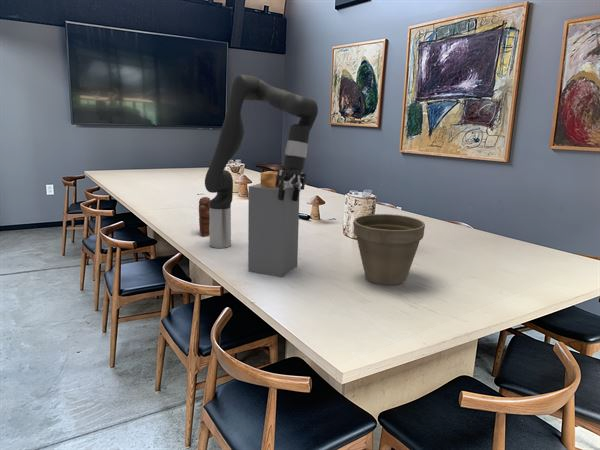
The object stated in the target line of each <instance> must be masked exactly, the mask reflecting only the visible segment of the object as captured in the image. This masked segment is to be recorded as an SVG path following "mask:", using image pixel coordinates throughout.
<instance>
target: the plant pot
mask: <svg viewBox="0 0 600 450" xmlns="http://www.w3.org/2000/svg"><path fill="white" fill-rule="evenodd" d="M425 228H426V224H425V222H424V221H422V220H421V219H419V218H415V217H411V216H407V215H402V214H401V215H400V214H391V213H389V214H388V213H387V214H386V213H384V214H383V213H380V214H379V213H377V214H367V215H366V214H365V215H361V216H357V217H355V219H354V220H353V233H354V235H355V236H356V240H357V244H358V250H359V254H360V258H361V263H362V268H363V272H364V276H365V278H366V279H367V280H368V281H369V282H372V283H373V284H374V283H375V284H378V285H385V286H396V285H400V284H403V283H405V282H406V281H407V278H408V275H409V273H410V269H411V267H412V264H413V262H414V258H415V257H416V253H417V252H418V251H417V250H418V247H419V245H420V244H419V243H420V241H421V240H422V239H423V238H424V236H425V235H424V234H425V230H426V229H425Z"/></svg>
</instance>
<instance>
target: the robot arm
mask: <svg viewBox="0 0 600 450" xmlns="http://www.w3.org/2000/svg"><path fill="white" fill-rule="evenodd" d="M229 94H230V95H229V98H228V99H229V100H228V105H227V109H226V113H225V117H224V120H223V123H222V127H221V129H220V133H219V137H218V140H217V144H216V147H215V151H214V153H213V156H212V159H211V162H210V164H209V167H208V169H207V172H206V174H205V178H204V187H205V190H206V191H207V192H208V193H211V194H214V193H215V194H216V195H215V196H214V197H213V198H212V199H210V200H211V201H210V202H209V216H210V224H209V236H208V237H209V246H210V247H211V248H214V249H215V248H216V249H225V247H226V248H230V247H231V246H232V217H231V216H232V209H231V207H232V202H233V196H234V195H233V194H234V179H233V176H232V173H231V172H230V171H229V170H226V169H225V168H226V166H227V164H228V163H229V162H230V161H231V160H232V159H233V157H234V156H235V155H236V154H237V152H238V151H239V149H240V147H241V145H242V142H243V139H244V136H245V127H244V123H243V118H242V115H241V114H242V108H243V104H244V101H260V102H266V103H268V104H269V105H270V106H271V107H272V108H275V109H277V110H279V111H282V112H285V113H287V114H289V115H291V116H294V117H297V118H299V121H298V123H294V124H291V126H290V127H289V132H288V137H287V142H286V147H285V151H284V155H283V156H284V157H283V164H282V166H283V168H284V169H278V170H277V172H278V174H277V179H276V184H275V186H276V187H278V188H279V192H278V200H281V201H283V200H284V196H285V189H286V187H287V186H288V185H290V184H292V185H293V188H294V191H293V197H292V200H293V201H298V198H299V199H300V192H301V191H302V190H303V191H304V190H305V184H306V178H307V174H306V173H304V172H302V171H303V170H304V169H305V165H306V159H307V154H308V144H309V137H310V132H311V130H312V127H313V125H314V123H315V121H316V119H317V116H318V114H319V113H318V112H319V107H318V103H317V101H316V100H314V99H312V98H309V97H306V96H303V95H300V94H296V93H293V92H291V91H288V90H286V89H282V88H279V87H275V86H272V85H270V84H268V83H267V82H265V81H264V80H262V79H261V78H259V77H257V76H253V75H248V74H242V73H241V74H238V75H237V76H235V77H234V80H233V82H232V85H231V89H230V93H229ZM279 180H281V181H280V184H279ZM283 185H284V186H283ZM296 186H297V187H296Z"/></svg>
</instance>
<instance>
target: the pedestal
mask: <svg viewBox="0 0 600 450" xmlns="http://www.w3.org/2000/svg"><path fill="white" fill-rule="evenodd" d="M260 185H261V182H260V183H257V184H253V185H250V186H248V209H247V210H248V217H247V218H248V220H247V221H248V227H247V228H248V229H247V230H248V231H247V232H248V236H247V237H248V238H247V239H248V241H247V242H248V245H247V247H248V251H247V256H248V260H247V261H248V262H247V268H248V269H247V270H248V272H250V273H255V274H260V275H267V276H272V277H278V278H283V277H285V276H286V275H288V274H289V273H290V272H292V271H293V270H294V269H296V268H297V267H298V259H299V258H298V255H299V253H298V251H299V226H300V225H299V223H300V222H299V221H300V220H299V219H300V218H299V217H300V197H299V198H298V201H293V200H292V197H293V191H294V188H293V185H292V184H290V185H288V186H287V187H286V189H285V196H284V200H283V201H281V200H278V192H279V188H266V187H260ZM296 187H297V186H296Z"/></svg>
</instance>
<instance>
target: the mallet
mask: <svg viewBox="0 0 600 450" xmlns="http://www.w3.org/2000/svg"><path fill="white" fill-rule="evenodd" d="M277 174H278V171H276V170H275V171H273V170H268V171H264V172H260V183H261V185H260V187H266V188H278V187H276V186H275V184H276V179H277ZM280 181H281V180H279V184H280ZM283 186H284V185H283Z"/></svg>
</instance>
